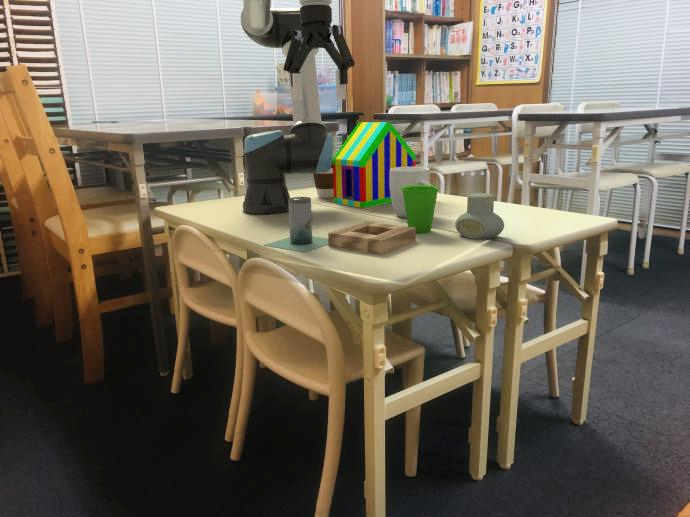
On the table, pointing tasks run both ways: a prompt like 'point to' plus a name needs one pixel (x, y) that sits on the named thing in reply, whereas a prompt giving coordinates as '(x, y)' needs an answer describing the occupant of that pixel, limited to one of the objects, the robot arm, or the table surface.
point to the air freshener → (480, 218)
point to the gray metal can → (300, 220)
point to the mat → (287, 245)
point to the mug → (405, 184)
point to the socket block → (372, 237)
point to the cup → (420, 206)
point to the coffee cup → (324, 183)
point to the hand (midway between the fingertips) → (319, 100)
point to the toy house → (369, 164)
